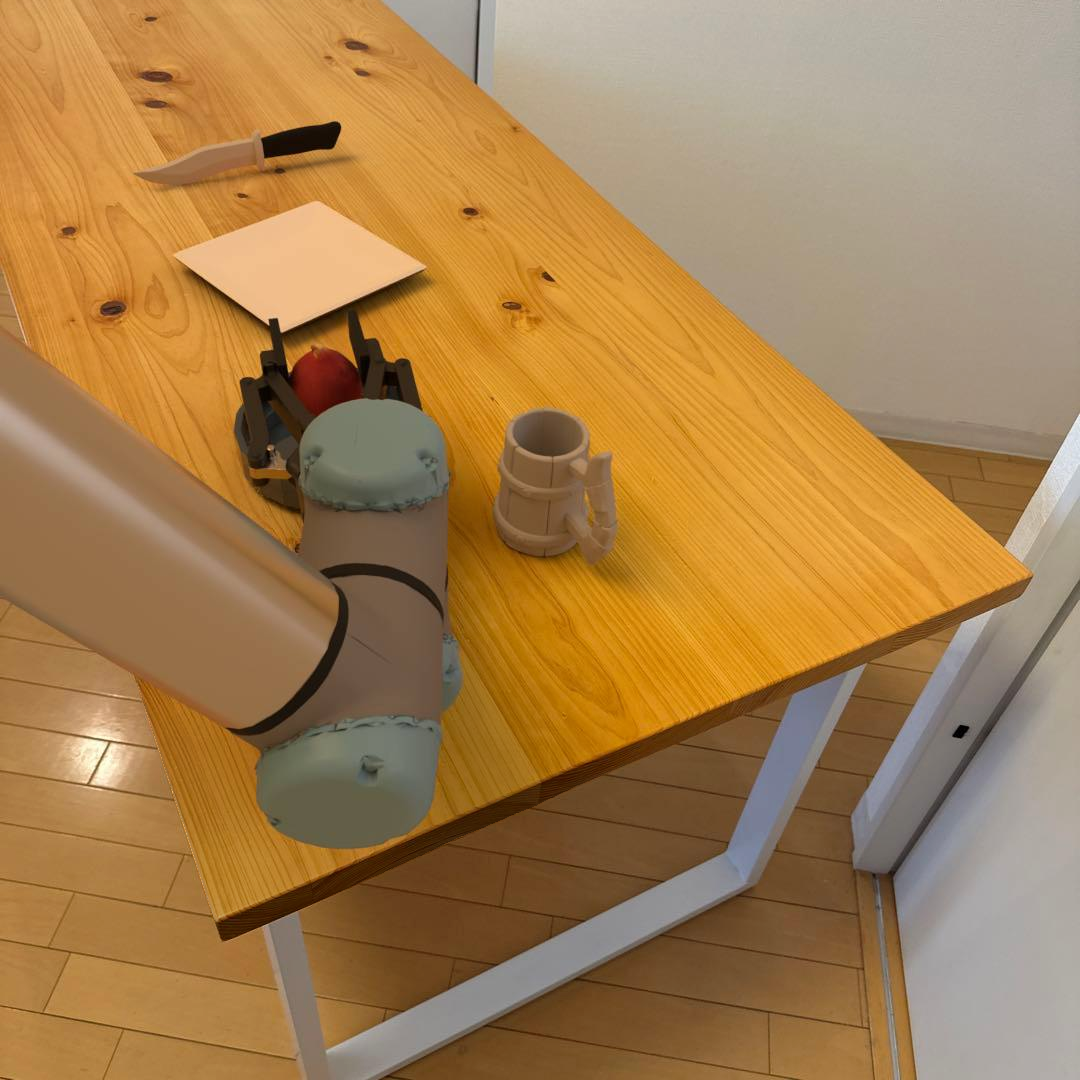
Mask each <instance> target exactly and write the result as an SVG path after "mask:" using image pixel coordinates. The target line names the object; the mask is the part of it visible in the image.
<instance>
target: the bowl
mask: <svg viewBox="0 0 1080 1080" xmlns="http://www.w3.org/2000/svg"><path fill="white" fill-rule="evenodd" d="M356 369H357V370H358V368H357V367H356ZM291 372H292V370H291V371H288V374H289V377H290V375H291ZM358 372H359V371H358ZM360 379H361V378H360ZM361 384H362V382H361ZM365 385H366V384H362V389H363V390H362V399H363V395H364V390H365ZM387 390H388V393H386V396H385V399H391V400H397V401H399V399H398V394H397V390H396V386H387ZM261 404H262V408H263V412H264V416H265V420H266V424H267V428H268V432H269V438H270V444H271V445H273V446H275V450H277V451H279V452H280V455H281V458H282V459H284V460H287V459H288V458H289V457H290V456H291V454H292V453H293V452H294V451H295V450H296V448H297V447H298V446H299V444H298V443H297V441H296V440H295V439H294V437H293V436H292V434H291V433H290V432H289V430H288V429H287V427H286V426H285V425H284V423H283V422H282V420H281V419H280V418H279V416H278V415H277V413H276V412H275V411H274V409H273V408H272V406H271V405H270V404H269V402H268V401H267V402H264V403H261ZM233 437H234V442H235V447H236V451H237V458H238V462H239V465H240V467H241V470H242V473H243V475H244V477H245V480H246V481H248V483H250V485H252V487H254V488H255V489H256V490H257V491H258V492H259V493H260V494H261V495H263V496H264V497H266V498H269V499H270V500H272V501H275V502H276V503H278V504H280V505H283V506H285V507H289V508H295V509H300V504H299V499H298V493H297V490H296V489H295V488H294V487H292V486H291V485H290V483H289V482H288V479H272V478H270V480H269V483H268V484H267V485H266V486H263V487H256V486H254V485H253V484H252V480H251V475H250V470H249V465H248V460H247V454H248V451H249V448H250V445H251V442H252V441H251V436H250V432H249V427H248V423H247V418H246V414H245V410H244V405H243V403H242V404H241V405H240V407H239V408H238V410H237V411H236V413H235V419H234V425H233ZM300 510H301V509H300Z"/></svg>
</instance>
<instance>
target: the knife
mask: <svg viewBox="0 0 1080 1080" xmlns="http://www.w3.org/2000/svg"><path fill="white" fill-rule="evenodd" d="M341 132H342V124H341V123H340V122H339V121H337V120H334V121H330V122H326V123H322V124H314V125H306V126H300V127H295V128H291V129H286V130H283V131H278V132H276V133H273V134H270V135H266V136H263V137H261V131H260V129H259V128H258V129H254V130H253V131H252V133H251V136H250V137H248V138H243V139H237V140H236V139H235V140H232V141H225V142H221V143H215V144H210V145H209V144H208V145H205V146H201V147H198V148H196V149H194V150H192V151H189V152H188V153H186V154H184V155H182V156H180V157H178V158H176V159H173V160H171V161H168V162H164V163H161V164H158V165H155V166H151V167H148V168H144V169H141V170H137V171H134V172H132V174H133V175H135V176H136V177H138V178H140V179H142V180H144V181H147V182H149V183H153V184H158V185H166V186H182V185H183V186H184V185H189V184H193V183H196V182H200V181H201V180H204V179H206V178H209V177H211V176H214V175H217V174H221V173H224V172H227V171H231V170H236V169H241V168H247V167H251V166H257V168H258V169H259V170H260V171H262V172H264V171H266V168H265V159H272V158H278V157H286V156H292V155H300V154H304V153H308V152H314V151H331V150H334V148H335V147H336V145H337V142H338V139H339V137H340V134H341Z"/></svg>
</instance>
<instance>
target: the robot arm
mask: <svg viewBox="0 0 1080 1080" xmlns="http://www.w3.org/2000/svg"><path fill="white" fill-rule="evenodd" d="M346 315H347V326H348V338H349V342H350V345H351V349H352V354H353V356H354V360H355V365H356V368H358V371H359V375H360V378H361V382H362V384H366V385H365V390H364V395H363V399H357V400H353V401H349V402H345V403H341V404H339V405H336V406H334V407H332V408H330V409H328V410H326V411H325V412H323V413H321V414H320V415H319V416H318V417H316V416H315V415H314V414H310V413H309V411H308V410H307V409H306V407H305V406H304V405H303V403H302V402H301V401H300V399H299V398H298V397H297V395H296V394H295V393H294V391H293V390H292V389H291V387H290V381H289V374H288V372H289V367H288V362H287V357H286V351H285V347H284V342H283V337H282V334H281V331H280V326H279V321H278V318H272V319H268V320H269V326H268V328H269V332H270V339H271V346H272V349H268V350H261V351H260V353H259V359H260V366H261V373H262V374H261V376H260V377H257V378H255V377H252V376H245V377H242V378H241V379H240V380H239V383H238V384H239V389H240V394H241V399H242V404H243V405H244V410H245V414H246V418H247V423H248V427H249V432H250V436H251V441H252V442H251V445H250V448H249V451H248V454H247V460H248V465H249V470H250V475H251V480H252V484H253V485H254V486H256V487H263V486H266V485H267V484H268V483H269V480H270V478H272V479H288V482H289V483H290V485H291V486H292V487H294V488H295V489H296V490H297V493H298V499H299V504H300V515H301V519H302V529H301V536H300V540H299V547H298V552H297V553H296V552H294V551H293V550H292V549H290V548H289V547H288V546H287V545H285V543H283V542H282V541H280V540H279V539H277V538H276V537H275V536H274V535H272V534H271V533H270V532H269V531H268V530H266V529H265V528H263V527H262V526H261V525H259V524H258V523H257V522H256V521H254V520H253V519H252V518H251V517H249V516H248V515H246V514H245V513H244V512H243V511H242V510H241V509H239V508H237V507H236V505H234V504H232V503H231V502H230V501H228V500H227V499H226V498H224V497H223V496H222V495H221V494H220V493H218V492H217V491H215V489H213V488H212V487H211V486H210V485H208V484H207V483H205V482H204V481H203V480H201V479H200V478H199V477H197V475H195V474H194V473H192V472H191V471H190V470H189V469H187V468H186V467H185V466H183V465H182V464H181V463H179V462H178V461H177V460H176V459H175V458H173V457H172V456H171V455H169V454H168V453H167V452H166V451H164V450H163V449H162V448H160V447H158V446H157V445H156V444H155V443H154V442H152V441H151V440H149V438H147V437H146V436H145V435H144V434H142V433H141V432H139V431H138V430H137V429H136V428H134V427H133V426H132V425H130V424H129V423H128V422H127V421H125V420H124V419H122V417H120V416H119V415H118V414H116V413H115V412H114V411H112V409H110V408H108V407H107V406H106V405H104V404H103V403H102V402H101V401H100V400H98V399H97V398H96V397H94V396H93V395H92V394H91V393H89V392H88V391H87V390H85V389H84V388H83V387H81V386H80V385H79V384H77V383H76V382H75V381H73V380H72V379H71V378H70V377H69V376H67V375H66V374H64V373H63V372H62V371H61V370H60V369H58V368H57V367H56V366H54V365H53V364H52V363H51V362H49V361H48V360H46V358H44V357H43V356H41V355H40V354H39V353H37V352H36V351H35V350H34V349H32V348H31V347H30V346H29V345H27V344H26V343H24V342H23V341H22V340H20V339H19V338H18V337H17V336H16V335H14V334H13V333H12V332H11V331H9V329H7V328H5V327H4V326H2V324H0V598H1V599H2V600H5V601H6V602H8V603H10V604H12V605H13V606H15V607H16V608H18V609H19V610H22V611H23V612H25V613H27V614H29V615H30V616H32V617H34V618H35V619H37V620H39V621H41V622H42V623H44V624H46V625H47V626H49V627H51V628H53V629H55V630H56V631H58V632H59V633H61V634H63V635H64V636H66V637H68V638H70V639H71V640H72V641H75V642H77V644H78V643H79V644H80V645H82V646H83V647H85V648H87V649H88V650H91V652H94V653H95V654H97V655H99V656H100V657H102V658H104V659H105V660H107V661H109V662H111V663H113V664H114V665H116V666H118V667H119V668H121V669H122V670H124V671H126V672H127V673H129V674H132V675H133V676H134V677H136V678H138V679H140V680H141V681H143V682H145V683H147V684H148V685H150V686H152V687H153V688H155V689H157V690H159V691H160V692H162V693H164V694H165V695H167V696H169V697H171V698H172V699H174V700H175V701H178V702H179V703H181V704H183V705H185V706H186V707H187V708H190V709H191V710H193V711H194V712H196V713H197V714H200V715H201V716H203V717H205V718H206V719H208V720H210V721H211V722H214V723H215V724H217V725H218V726H220V727H222V728H224V729H226V730H227V731H229V732H230V733H231V734H232V735H234V736H235V737H237V738H239V739H240V740H241V741H244V742H246V743H247V744H248V745H251V746H252V747H254V748H255V749H257V750H258V751H259V753H260V755H259V757H258V758H257V761H256V763H255V765H254V769H253V770H254V771H255V775H256V787H255V788H256V790H255V799H256V804H257V807H258V808H259V810H260V812H261V813H263V814H264V815H265V817H266V820H267V821H266V822H267V823H268V824H269V825H270V826H271V827H272V828H273V829H274V830H275V831H276V832H278V833H280V834H282V835H283V836H285V837H287V838H288V839H291V840H294V841H295V842H299V843H302V844H305V845H308V846H314V847H319V848H325V849H333V850H355V849H356V850H357V849H364V848H372V847H377V846H381V845H384V844H386V843H387V842H388V841H391V840H393V839H396V838H400V837H404V836H406V835H407V834H409V833H410V832H412V831H413V830H415V829H416V828H417V827H418V826H419V825H420V824H421V823H422V822H423V821H424V819H425V818H426V817H427V816H428V814H429V812H430V810H431V808H432V806H433V802H434V799H435V791H436V790H435V789H436V780H437V773H438V765H439V759H440V749H441V744H442V741H443V739H444V738H443V725H442V714H444V713H445V712H446V711H447V710H448V709H449V708H451V706H453V704H454V703H455V701H456V700H457V698H458V697H459V695H460V693H461V691H462V688H463V683H464V673H463V669H462V664H461V663H462V662H461V660H460V659H461V658H460V653H459V651H460V644H459V641H458V639H456V638H455V636H454V634H453V630H452V625H451V619H450V609H449V606H450V605H449V603H450V602H449V600H450V599H449V597H450V596H449V595H450V593H449V591H450V590H449V589H450V587H449V583H450V581H449V566H448V542H449V540H448V538H449V537H448V536H449V488H450V480H451V475H452V474H451V471H450V469H449V468H448V459H447V444H446V440H445V437H444V434H443V432H442V430H441V428H440V426H439V425H438V423H437V422H436V421H435V420H434V419H433V418H432V417H431V416H430V415H429V414H427V412H425V411H424V410H423V406H422V403H421V399H420V395H419V391H418V387H417V383H416V379H415V375H414V371H413V367H412V363H411V361H410V360H409V359H407V358H404V357H401V358H397V359H395V361H394V362H392V361H388V360H387V359H386V358H385V356H384V354H383V350H382V348H381V344H380V341H379V340H378V339H377V338H376V337H370V338H365V335H364V332H363V327H362V325H361V321H360V318H359V315H358V311H357V309H349V310H346ZM387 386H396V390H397V394H398V399H399V401H397V400H391V399H385V396H386V393H388V390H387ZM267 401H268V402H269V404H270V405H271V406H272V408H273V409H274V411H275V412H276V413H277V415H278V416H279V418H280V419H281V420H282V422H283V423H284V425H285V426H286V427H287V429H288V430H289V432H290V433H291V434H292V436H293V437H294V439H295V440H296V441H297V443H298V444H299V446H298V447H297V448H296V450H295V451H294V452H293V453H292V454H291V456H290V457H289V458H288V459H287V460H284V459H282V458H281V455H280V452H279V451H277V450H275V446H273V445H271V444H270V438H269V432H268V428H267V424H266V420H265V416H264V412H263V408H262V404H261V403H264V402H267ZM252 484H251V485H252ZM253 485H252V486H253ZM254 486H253V487H254Z"/></svg>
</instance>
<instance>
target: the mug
mask: <svg viewBox="0 0 1080 1080" xmlns="http://www.w3.org/2000/svg"><path fill="white" fill-rule="evenodd" d="M590 434H591V433H590V430H589V428H588V426H587V424H586V423H585V422H584V421H583V419H581V418H580V417H578V416H576V415H574V414H572V413H570V412H569V411H567V410H565V409H561V408H557V407H553V406H543V407H542V406H539V407H533V408H530V409H529V410H528V411H526V412H521V413H518V414H516V415H514V416H513V417H512V418H511V420H509V421H508V423H507V425H506V427H505V434H504V447H503V450H501V452H500V454H499V459H498V463H497V472H498V473H499V475H500V483H499V491H498V492H497V494H496V496H495V499H494V502H493V507H492V516H493V520H494V523H495V525H496V530H497V533H498V535H499V537H500V538H501V541H503V542H505V544H506V545H507V546H508V547H509V548H511V549H513V550H515V551H516V552H520V553H523V554H525V555H529V556H533V557H544V556H545V557H553V556H557V555H560V554H564V553H565V552H567V551H570V550H571V549H572V548H573V547H574V546H575V545H576V544H577V545H578V546H579V548H580V551H581V553H582V556H583V557H584V559H585V561H586V563H587V564H588V565H589V566H594V565H595V564H597V563H599V562H600V561H601V560H602V559H604V558H606V557H608V556H609V555H610V554H611V552H612V551H613V549H614V542H615V539H616V536H617V532H618V529H619V520H618V519H617V508H616V507H617V506H616V497H615V492H614V484H613V481H614V479H613V478H612V460H613V451H611V450H608V451H604V452H599V453H595V454H594V455H593V456H592V457H590V445H591V435H590ZM586 494H587V499H588V502H589V503H588V502H587V501H586ZM588 504H589V505H590V507H589V505H588ZM590 508H591V509H592V510H593V515H594V516H593V521H592V527H591V526H590V524H589V523H588V519H589V512H590Z"/></svg>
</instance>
